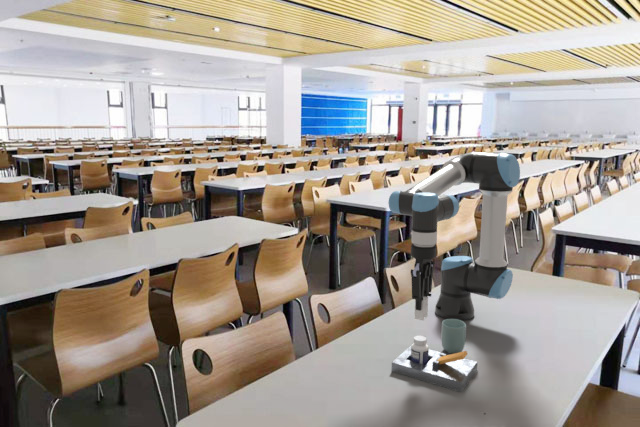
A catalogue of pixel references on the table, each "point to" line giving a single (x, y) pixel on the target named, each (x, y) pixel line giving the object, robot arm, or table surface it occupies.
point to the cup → (453, 335)
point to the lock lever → (451, 357)
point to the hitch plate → (436, 370)
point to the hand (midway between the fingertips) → (421, 317)
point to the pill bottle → (419, 350)
